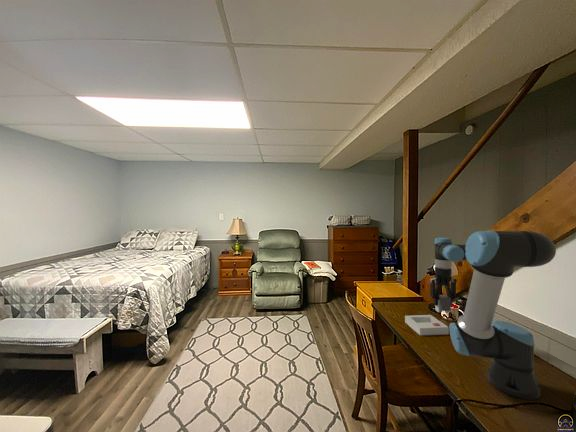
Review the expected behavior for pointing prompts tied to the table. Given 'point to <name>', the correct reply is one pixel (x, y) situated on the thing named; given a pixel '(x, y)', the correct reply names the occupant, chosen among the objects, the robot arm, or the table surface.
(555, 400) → the table surface
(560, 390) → the table surface
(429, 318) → the socket plate
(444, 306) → the plug
